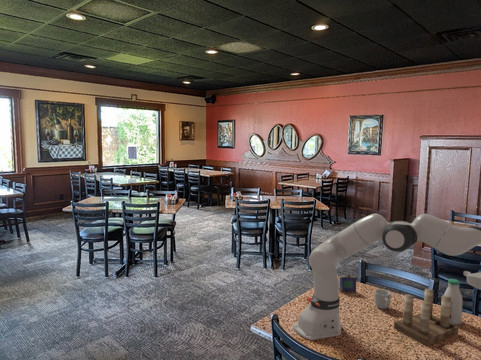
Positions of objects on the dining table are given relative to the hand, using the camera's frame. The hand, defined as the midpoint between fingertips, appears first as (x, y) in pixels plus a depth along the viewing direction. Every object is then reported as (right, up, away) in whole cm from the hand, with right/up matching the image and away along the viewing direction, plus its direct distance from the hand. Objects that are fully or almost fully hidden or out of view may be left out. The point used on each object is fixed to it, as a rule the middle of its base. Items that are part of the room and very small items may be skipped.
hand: (473, 271), depth 140 cm
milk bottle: (+5, -30, +23) cm, 38 cm away
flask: (-33, -27, +57) cm, 72 cm away
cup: (-22, -29, +37) cm, 51 cm away
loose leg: (-4, -31, +14) cm, 34 cm away
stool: (-12, -31, +15) cm, 36 cm away
